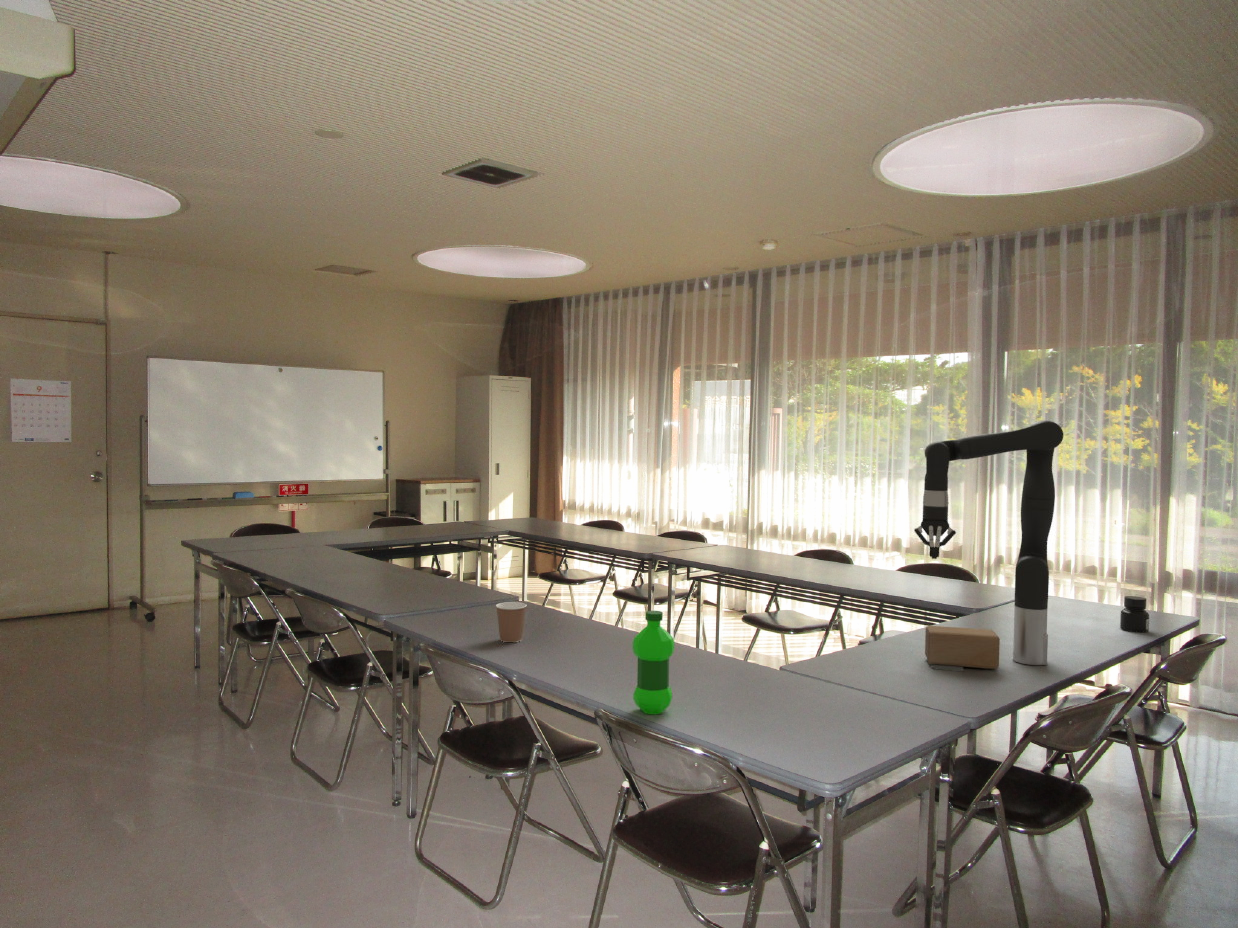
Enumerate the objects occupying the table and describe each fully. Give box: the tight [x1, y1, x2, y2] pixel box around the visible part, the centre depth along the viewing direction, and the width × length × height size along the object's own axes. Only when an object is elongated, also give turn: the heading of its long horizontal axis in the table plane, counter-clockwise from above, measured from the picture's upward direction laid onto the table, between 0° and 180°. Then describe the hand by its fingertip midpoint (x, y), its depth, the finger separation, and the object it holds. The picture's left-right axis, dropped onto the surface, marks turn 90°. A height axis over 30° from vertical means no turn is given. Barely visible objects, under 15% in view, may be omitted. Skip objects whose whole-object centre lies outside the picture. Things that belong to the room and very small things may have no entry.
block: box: [924, 625, 1001, 670], centre depth 252 cm, size 10×10×20 cm
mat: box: [930, 664, 964, 672], centre depth 252 cm, size 9×13×1 cm
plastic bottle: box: [632, 610, 675, 715], centre depth 207 cm, size 10×10×25 cm
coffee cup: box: [495, 601, 528, 643], centre depth 275 cm, size 10×10×12 cm
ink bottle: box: [1119, 595, 1150, 634], centre depth 300 cm, size 10×9×12 cm
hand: (934, 558), depth 263 cm, fingers closed
